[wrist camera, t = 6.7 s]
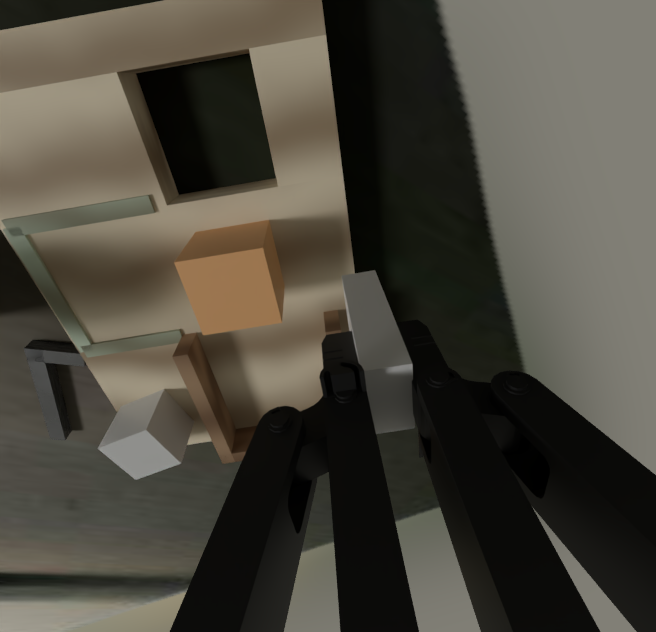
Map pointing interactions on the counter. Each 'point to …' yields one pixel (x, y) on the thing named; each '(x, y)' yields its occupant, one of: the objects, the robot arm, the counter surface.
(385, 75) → the counter surface
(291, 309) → the board
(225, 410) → the cubby
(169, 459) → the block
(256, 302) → the cube
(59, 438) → the crook tool
